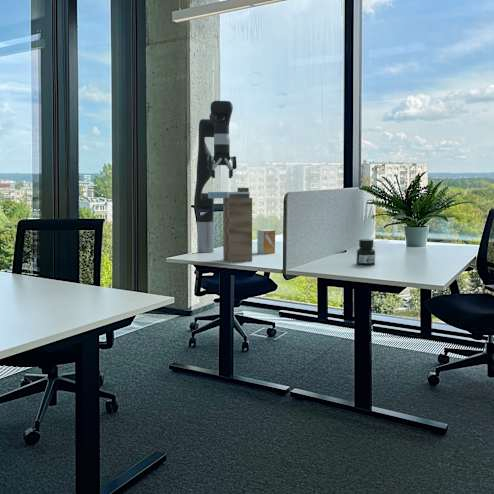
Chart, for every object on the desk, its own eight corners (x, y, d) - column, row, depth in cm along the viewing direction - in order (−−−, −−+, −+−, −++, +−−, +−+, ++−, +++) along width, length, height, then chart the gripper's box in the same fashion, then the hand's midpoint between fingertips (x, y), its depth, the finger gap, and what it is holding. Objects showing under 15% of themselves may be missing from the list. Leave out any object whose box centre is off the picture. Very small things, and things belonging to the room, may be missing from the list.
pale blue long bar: (208, 198, 270) (208, 188, 269) (247, 197, 278) (247, 187, 277) (209, 198, 267) (209, 188, 267) (249, 197, 275) (249, 187, 274)
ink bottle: (359, 265, 262) (360, 241, 261) (352, 263, 271) (353, 239, 269) (378, 265, 264) (379, 240, 263) (371, 262, 273) (371, 238, 271)
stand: (223, 259, 281) (223, 193, 276) (245, 258, 285) (245, 193, 281) (229, 262, 272) (229, 194, 267) (252, 261, 276) (252, 194, 271)
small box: (263, 254, 300) (263, 230, 298) (257, 253, 305) (257, 230, 303) (275, 253, 304) (275, 230, 302) (268, 252, 309) (268, 229, 308)
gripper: (232, 144, 265) (233, 178, 267) (205, 143, 259) (205, 178, 262) (238, 143, 258) (238, 178, 260) (210, 143, 253) (210, 178, 255)
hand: (221, 178), depth 261 cm, fingers open, 8 cm apart
